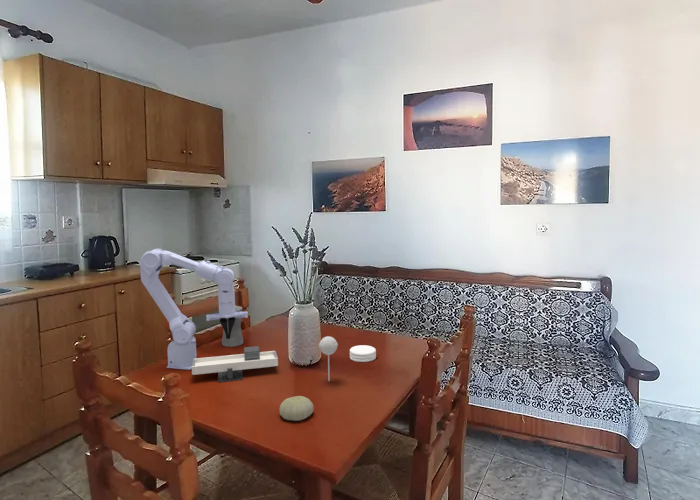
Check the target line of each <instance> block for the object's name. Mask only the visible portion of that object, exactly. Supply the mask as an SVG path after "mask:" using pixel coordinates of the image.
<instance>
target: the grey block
mask: <svg viewBox="0 0 700 500" xmlns="http://www.w3.org/2000/svg"><path fill="white" fill-rule="evenodd" d="M243 352H244V353H243V354H244V359H245V361H250V360H260V352H261V351H260V347H259V345H258V346H257V345H256V346H255V345H254V346H246V347H244V348H243Z"/></svg>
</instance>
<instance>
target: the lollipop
mask: <svg viewBox="0 0 700 500" xmlns="http://www.w3.org/2000/svg"><path fill="white" fill-rule="evenodd" d="M338 346H339V344H338V342H337V340H336V339H335V338H334V337H333V336H329V335H327V336H324V337H322V339H321V340H320V342H319V344H318V348H319V350H320V352H321V353H322V354H324V355H326V356H327V375H328V378H327V380H328V381H327V382H330V381H331V380H330V379H331V377H330V372H331V371H330V368H331V367H330V355H333V354H335V352H336V351H337V349H338Z"/></svg>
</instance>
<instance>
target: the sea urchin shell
mask: <svg viewBox="0 0 700 500" xmlns="http://www.w3.org/2000/svg"><path fill="white" fill-rule="evenodd" d="M313 412H314V404H313V402H312V401H311V400H310V399H309V398H307V397H306V396H302V395H296V396H295V395H294V396H291V397H287V398H285V399H284V400H283V401H282V402H281V403H280V405H279V414H280V416H281V418H282V419H284V420H287V421H293V422H298V421H300V422H301V421H303V420H306V419H307V418H308V417H310V416H311V415H312V414H313Z"/></svg>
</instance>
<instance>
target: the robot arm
mask: <svg viewBox="0 0 700 500" xmlns="http://www.w3.org/2000/svg"><path fill="white" fill-rule="evenodd" d="M138 264H139V266H140V269H139V270H140V281H141V283H142V284H143V286H144V287H145V289H146V290H147V292H148V293H149V295H150V296H151V297H152V299H153V300H154V301H153V302H155V304H156V305H157V306H158V308H159V310H160V311H161V312H162V314H163V316H164V317H165V319H166V320H167V323H168V324H169V325H168V326H169V330H170V332H171V334H172V339H173V340H172V341H171V342H170V343H168V346H167V348H166V349H167V366H166V368H167V369H175V370H185V371H190V370H192V363H193V359H196V358H198V357H197V342H196V341H197V340H196V337H195V336H194V335H195V334H196V331H197V326H196V324H195V323H194V322H193V321H191V320H189V318H188V317H187V315H185V314H183V313H182V312H181V310H180V308H179V307H178V306H177V304H176V302H175V301H174V300H173V298H172V296H171V295H170V294H169V291H168V290H167V289H166V287H165V286H164V284H163V283H162V282H161V280H160V278H159V275H160V272H161V269H162V268H163V267H165V266H170V265H173V266H176V267H179V268H183V269H187V270H190V271H194V272H195V274H196V276H197V277H200V278H203V279H206V280H207V281H211V282H216V283H217V286H218V287H217V288H218V289H217V294H218V312H217V313H216V312H215V313H210V314H206V322H210V321H215V320H217V321H218V320H219V324H220V326H221V327H222V330H223V329H224V331H225V334H226V339H230V336H231V331H232V328H233V325H234V323H235V318H242V319H246V318H247V319H248V318H249V313H248V311H247V310H246V311H242V312H235V306H236V298H235V297H236V296H235V284H234V280H235V272H234V271H233V270H232V269H231V268H230V267H224V266H222V265H220V266H219V265H216V264H214V263H211V261H210V260H206V261H205V260H202V261H200V262H197V261H195V260H192V259H190V258H187V257H185V256H182V255H179V254H178V253H175V252H172V251H169V250H165V249H164V250H163V249H162V248H159V247H158V248H154V249H152V250H148V251H146V252H144V253H143V254H142V256H141V258H140V260H139V263H138ZM227 319H228V329H227Z"/></svg>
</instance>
